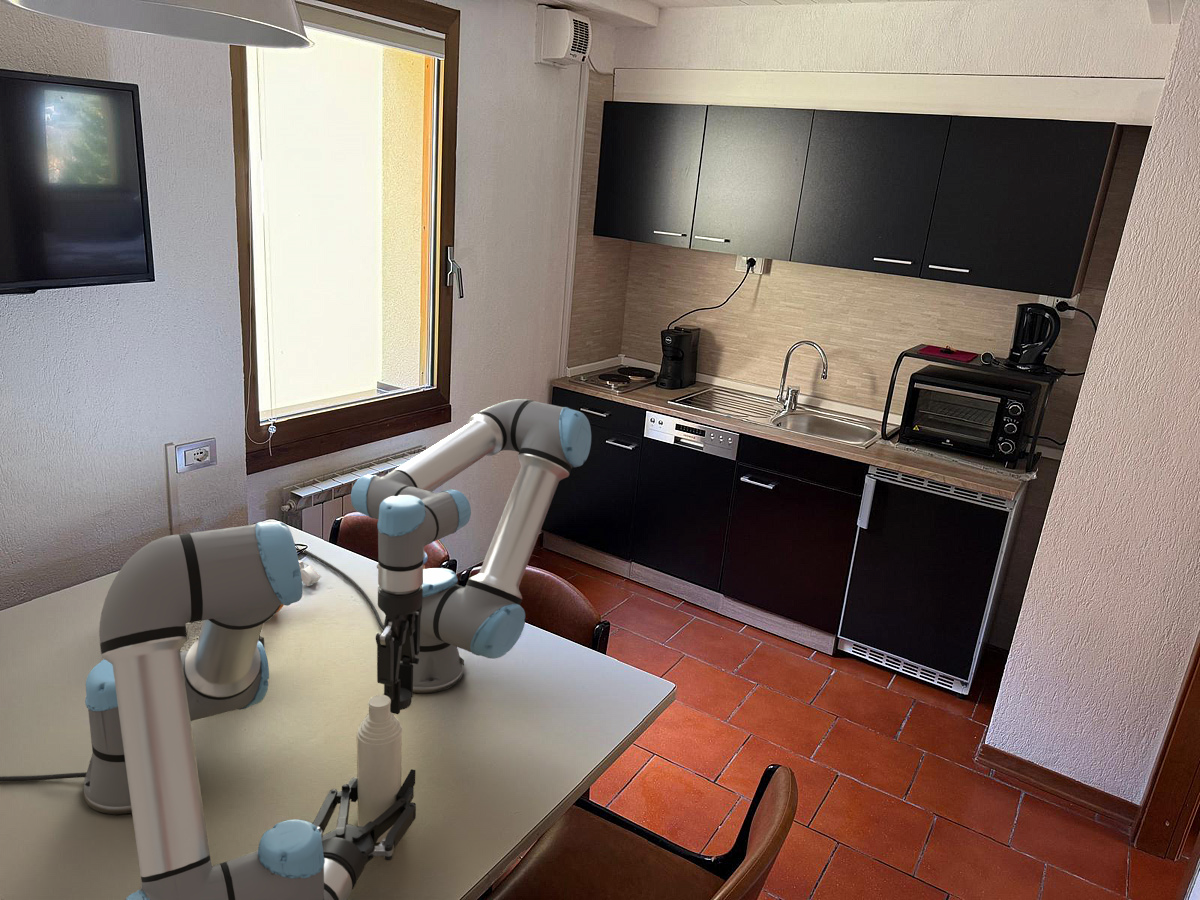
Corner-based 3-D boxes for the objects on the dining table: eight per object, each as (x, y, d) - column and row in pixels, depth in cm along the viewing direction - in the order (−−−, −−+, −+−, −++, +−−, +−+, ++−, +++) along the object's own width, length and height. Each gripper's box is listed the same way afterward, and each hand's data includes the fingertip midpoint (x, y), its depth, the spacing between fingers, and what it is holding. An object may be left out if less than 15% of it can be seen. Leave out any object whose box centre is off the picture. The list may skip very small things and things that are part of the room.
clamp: (253, 565, 223) (254, 542, 221) (265, 560, 226) (266, 537, 224) (309, 593, 215) (310, 569, 213) (320, 588, 218) (321, 564, 216)
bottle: (408, 831, 139) (409, 704, 132) (368, 849, 134) (368, 718, 127) (389, 807, 144) (390, 683, 136) (350, 823, 139) (349, 696, 132)
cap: (406, 693, 156) (407, 685, 155) (414, 707, 152) (415, 698, 151) (382, 699, 154) (382, 690, 153) (389, 713, 150) (389, 704, 149)
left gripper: (263, 886, 122) (335, 781, 144) (395, 911, 120) (448, 801, 142) (261, 843, 120) (334, 743, 142) (396, 868, 118) (449, 763, 139)
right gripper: (402, 562, 155) (400, 674, 162) (355, 603, 139) (355, 727, 145) (441, 568, 154) (437, 682, 160) (397, 611, 137) (395, 736, 144)
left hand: (391, 772), depth 142 cm, fingers closed on bottle, 7 cm apart
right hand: (398, 703), depth 153 cm, fingers closed on cap, 4 cm apart
